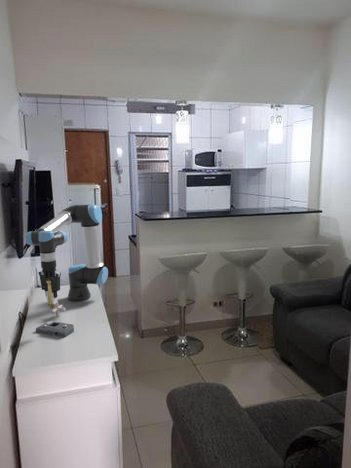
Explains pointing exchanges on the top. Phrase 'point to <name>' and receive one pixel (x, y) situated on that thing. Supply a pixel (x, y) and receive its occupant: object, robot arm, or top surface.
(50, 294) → the pin
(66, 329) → the square socket block
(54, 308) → the white crossed rod jack
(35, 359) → the top surface
